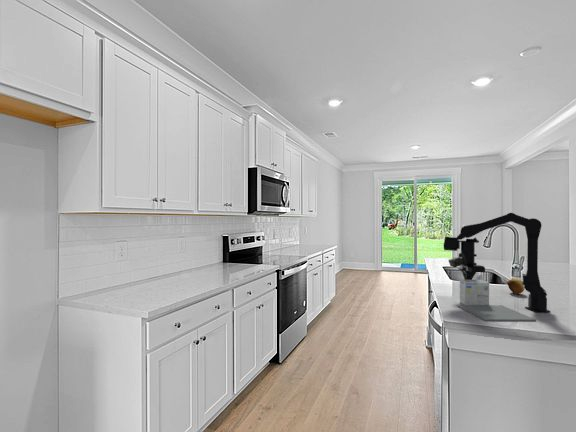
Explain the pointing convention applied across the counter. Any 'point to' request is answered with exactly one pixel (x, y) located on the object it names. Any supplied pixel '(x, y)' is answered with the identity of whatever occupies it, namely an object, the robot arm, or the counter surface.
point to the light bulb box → (474, 292)
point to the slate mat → (495, 313)
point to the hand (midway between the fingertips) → (467, 284)
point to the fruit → (516, 286)
